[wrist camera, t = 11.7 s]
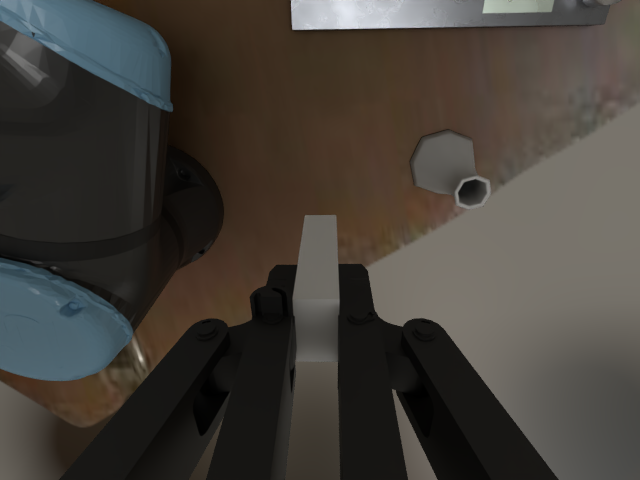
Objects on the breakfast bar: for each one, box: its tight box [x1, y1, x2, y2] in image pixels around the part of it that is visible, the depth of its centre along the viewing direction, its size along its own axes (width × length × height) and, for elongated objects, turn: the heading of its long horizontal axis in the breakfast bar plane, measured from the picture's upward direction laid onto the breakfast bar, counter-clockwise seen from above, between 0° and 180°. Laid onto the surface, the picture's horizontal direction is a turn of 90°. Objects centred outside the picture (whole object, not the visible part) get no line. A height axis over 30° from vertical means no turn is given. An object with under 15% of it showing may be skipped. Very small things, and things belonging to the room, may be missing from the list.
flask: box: [410, 129, 491, 210], centre depth 36 cm, size 7×7×10 cm
